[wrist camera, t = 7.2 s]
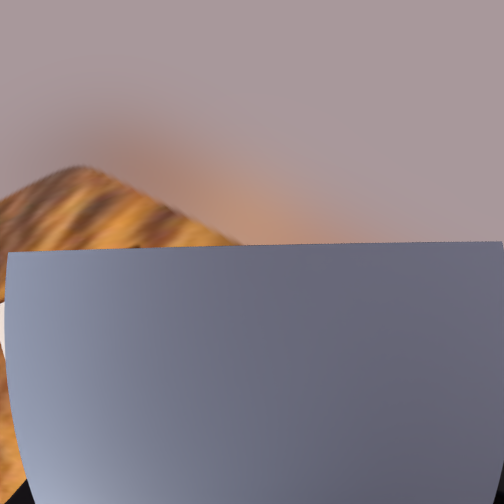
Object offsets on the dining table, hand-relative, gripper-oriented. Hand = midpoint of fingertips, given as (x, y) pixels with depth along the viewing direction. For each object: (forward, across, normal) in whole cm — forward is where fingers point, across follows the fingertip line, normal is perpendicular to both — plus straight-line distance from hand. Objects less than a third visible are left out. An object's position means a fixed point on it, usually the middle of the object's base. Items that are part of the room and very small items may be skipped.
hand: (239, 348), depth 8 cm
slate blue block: (+4, 0, +6) cm, 7 cm away
